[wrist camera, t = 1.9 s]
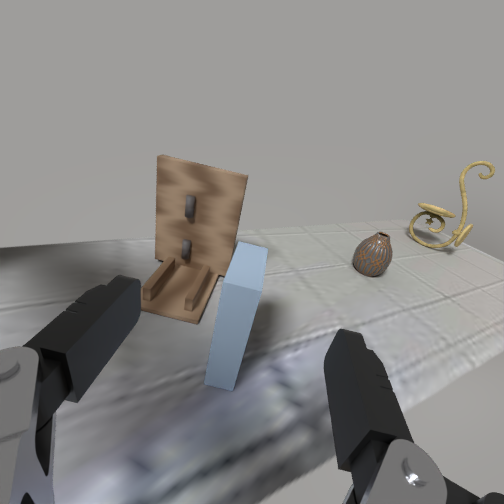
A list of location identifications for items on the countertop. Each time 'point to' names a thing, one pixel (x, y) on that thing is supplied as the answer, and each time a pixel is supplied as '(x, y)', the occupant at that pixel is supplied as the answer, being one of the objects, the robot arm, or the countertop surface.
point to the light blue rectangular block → (235, 314)
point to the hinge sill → (191, 235)
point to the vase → (373, 255)
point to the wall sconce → (437, 211)
